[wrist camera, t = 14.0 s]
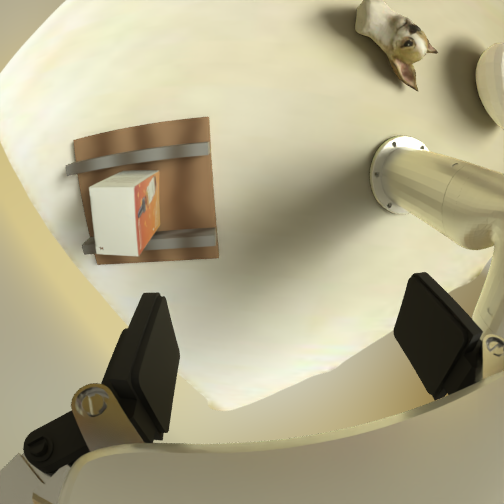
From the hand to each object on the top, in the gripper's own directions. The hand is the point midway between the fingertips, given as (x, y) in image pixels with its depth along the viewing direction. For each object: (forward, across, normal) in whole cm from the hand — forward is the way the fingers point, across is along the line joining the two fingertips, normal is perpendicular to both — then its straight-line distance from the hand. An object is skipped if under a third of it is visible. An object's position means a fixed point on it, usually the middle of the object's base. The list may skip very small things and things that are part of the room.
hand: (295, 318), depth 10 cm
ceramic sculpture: (+31, -21, -22) cm, 43 cm away
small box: (+29, +15, +2) cm, 33 cm away
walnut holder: (+30, +15, +2) cm, 34 cm away
